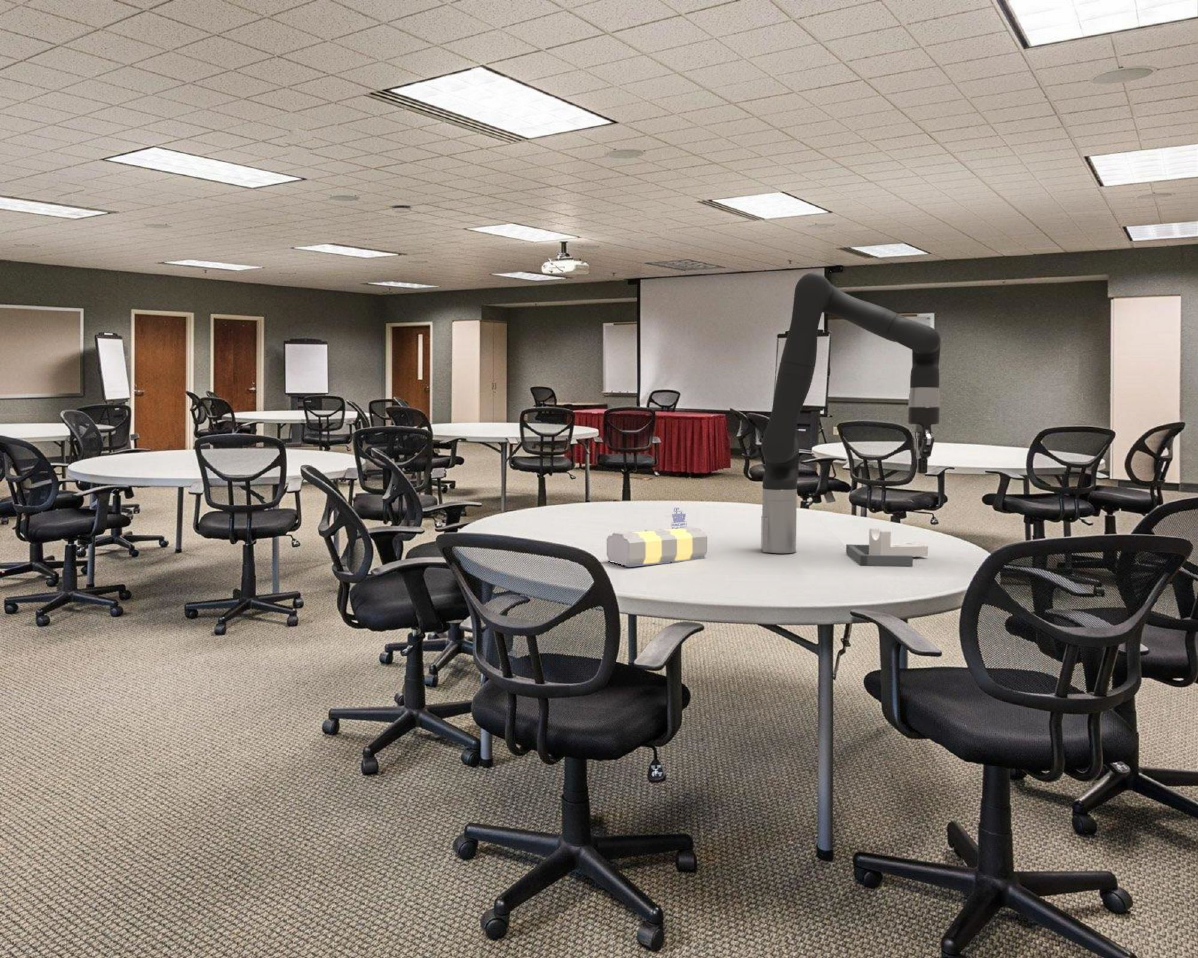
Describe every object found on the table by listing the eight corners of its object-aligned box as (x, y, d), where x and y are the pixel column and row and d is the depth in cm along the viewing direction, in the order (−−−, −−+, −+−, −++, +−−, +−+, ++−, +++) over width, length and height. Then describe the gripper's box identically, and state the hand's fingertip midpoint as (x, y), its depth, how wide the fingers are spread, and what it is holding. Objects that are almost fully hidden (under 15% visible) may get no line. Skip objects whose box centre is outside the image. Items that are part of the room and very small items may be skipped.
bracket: (880, 560, 235) (881, 531, 235) (868, 556, 242) (869, 528, 242) (927, 559, 237) (928, 531, 237) (914, 555, 244) (915, 527, 244)
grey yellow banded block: (683, 554, 247) (683, 506, 246) (707, 558, 239) (707, 509, 238) (606, 561, 234) (606, 511, 233) (629, 567, 225) (629, 514, 224)
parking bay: (860, 565, 225) (861, 555, 225) (846, 553, 246) (846, 544, 246) (912, 566, 224) (912, 556, 224) (893, 554, 245) (893, 545, 245)
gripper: (903, 406, 239) (901, 471, 240) (915, 405, 226) (913, 474, 227) (932, 406, 238) (930, 472, 239) (946, 405, 225) (944, 474, 226)
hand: (922, 473), depth 233 cm, fingers closed
